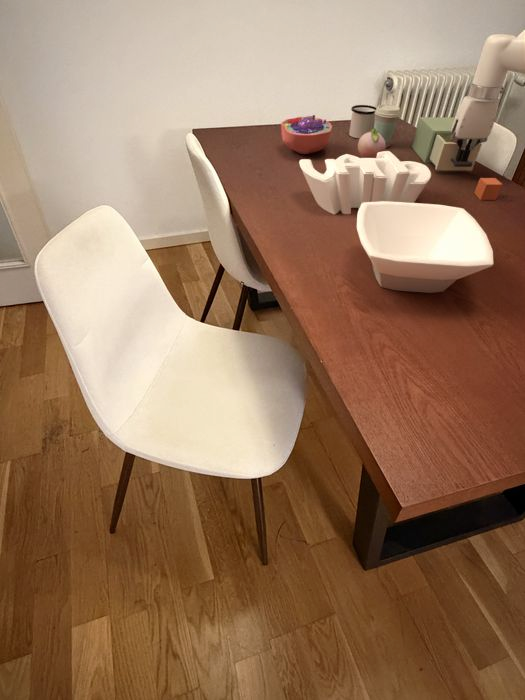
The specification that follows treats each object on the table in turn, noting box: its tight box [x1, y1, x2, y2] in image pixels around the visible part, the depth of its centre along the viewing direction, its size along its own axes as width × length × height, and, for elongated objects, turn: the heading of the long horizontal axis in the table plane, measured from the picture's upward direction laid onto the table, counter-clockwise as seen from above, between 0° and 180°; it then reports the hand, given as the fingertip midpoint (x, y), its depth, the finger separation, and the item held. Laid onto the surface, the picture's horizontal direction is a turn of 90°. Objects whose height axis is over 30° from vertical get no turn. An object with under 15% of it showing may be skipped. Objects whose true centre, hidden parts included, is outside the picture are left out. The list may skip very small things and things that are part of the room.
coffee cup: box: [373, 104, 401, 149], centre depth 139 cm, size 8×8×12 cm
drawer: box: [428, 134, 483, 171], centre depth 125 cm, size 18×11×8 cm, turn 1°
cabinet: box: [411, 116, 456, 164], centre depth 134 cm, size 15×13×10 cm
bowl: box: [356, 201, 494, 294], centre depth 82 cm, size 24×25×10 cm
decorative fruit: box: [357, 129, 386, 158], centre depth 128 cm, size 9×8×10 cm
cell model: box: [280, 114, 333, 155], centre depth 134 cm, size 17×20×11 cm
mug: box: [348, 104, 377, 140], centre depth 148 cm, size 12×10×9 cm
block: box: [473, 177, 503, 201], centre depth 112 cm, size 4×4×4 cm
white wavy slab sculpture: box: [299, 150, 432, 215], centre depth 107 cm, size 35×16×11 cm, turn 91°
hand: (460, 162), depth 122 cm, fingers closed
